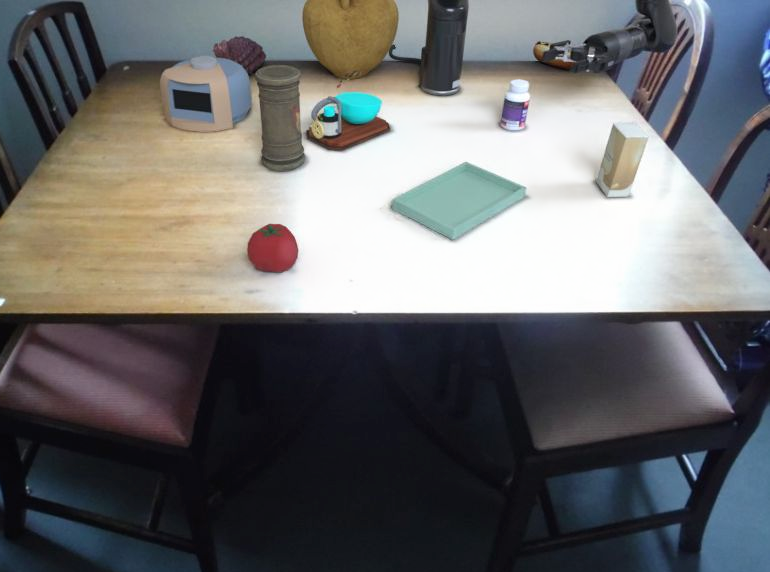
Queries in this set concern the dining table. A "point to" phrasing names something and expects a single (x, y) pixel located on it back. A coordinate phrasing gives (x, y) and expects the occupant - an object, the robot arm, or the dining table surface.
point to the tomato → (273, 248)
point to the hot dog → (538, 54)
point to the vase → (350, 33)
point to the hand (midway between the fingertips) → (558, 62)
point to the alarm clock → (205, 94)
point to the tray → (458, 199)
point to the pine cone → (241, 52)
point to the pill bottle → (515, 105)
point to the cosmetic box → (621, 159)
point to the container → (280, 117)
